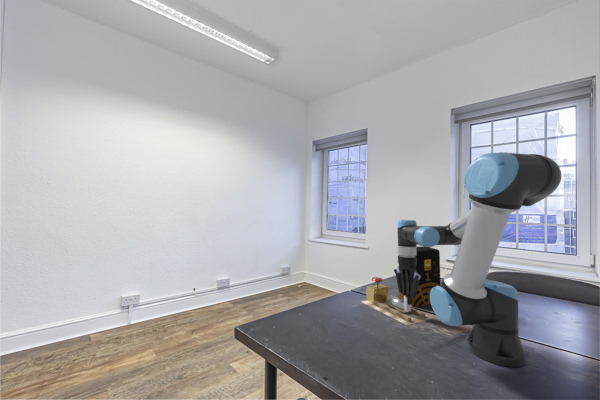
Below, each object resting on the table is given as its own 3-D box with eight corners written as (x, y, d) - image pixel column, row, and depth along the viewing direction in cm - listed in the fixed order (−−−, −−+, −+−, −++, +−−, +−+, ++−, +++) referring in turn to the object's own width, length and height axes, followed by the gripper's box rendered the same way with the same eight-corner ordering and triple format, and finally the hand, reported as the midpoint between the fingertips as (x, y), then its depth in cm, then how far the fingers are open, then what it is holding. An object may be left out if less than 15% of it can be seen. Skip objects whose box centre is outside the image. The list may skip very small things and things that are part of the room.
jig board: (434, 321, 106) (434, 314, 106) (407, 329, 99) (407, 321, 99) (385, 299, 131) (384, 293, 131) (360, 304, 124) (360, 298, 124)
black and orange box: (443, 305, 124) (443, 247, 124) (413, 311, 116) (413, 249, 117) (425, 298, 134) (424, 244, 134) (396, 303, 126) (396, 246, 127)
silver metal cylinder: (409, 315, 110) (412, 303, 111) (402, 312, 108) (405, 301, 109) (392, 307, 119) (395, 296, 120) (384, 304, 117) (387, 293, 118)
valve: (387, 301, 125) (387, 278, 125) (373, 304, 121) (373, 281, 121) (376, 296, 132) (376, 275, 132) (362, 298, 128) (362, 276, 128)
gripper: (426, 257, 105) (426, 315, 104) (401, 252, 117) (401, 304, 116) (413, 259, 102) (413, 318, 101) (389, 253, 113) (389, 307, 113)
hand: (407, 311), depth 109 cm, fingers closed
